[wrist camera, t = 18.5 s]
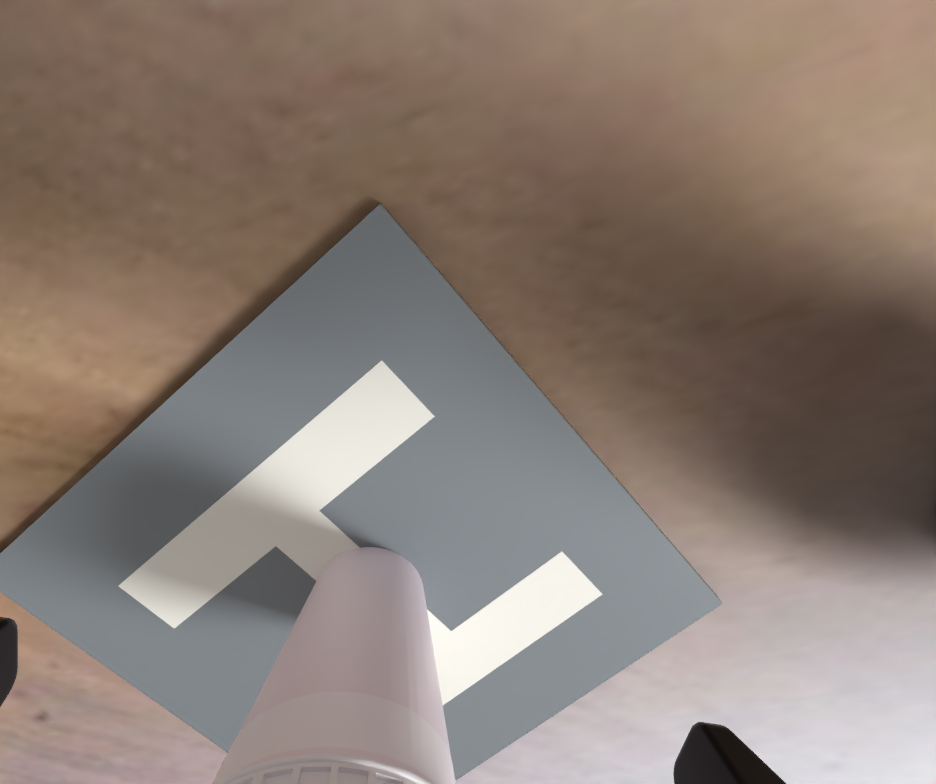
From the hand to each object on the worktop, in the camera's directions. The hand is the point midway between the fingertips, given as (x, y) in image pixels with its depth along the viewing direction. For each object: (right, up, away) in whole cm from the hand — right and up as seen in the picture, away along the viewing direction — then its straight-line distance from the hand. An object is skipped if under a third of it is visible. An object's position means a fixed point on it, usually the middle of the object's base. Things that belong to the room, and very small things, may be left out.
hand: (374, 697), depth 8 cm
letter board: (-2, -3, +13) cm, 13 cm away
